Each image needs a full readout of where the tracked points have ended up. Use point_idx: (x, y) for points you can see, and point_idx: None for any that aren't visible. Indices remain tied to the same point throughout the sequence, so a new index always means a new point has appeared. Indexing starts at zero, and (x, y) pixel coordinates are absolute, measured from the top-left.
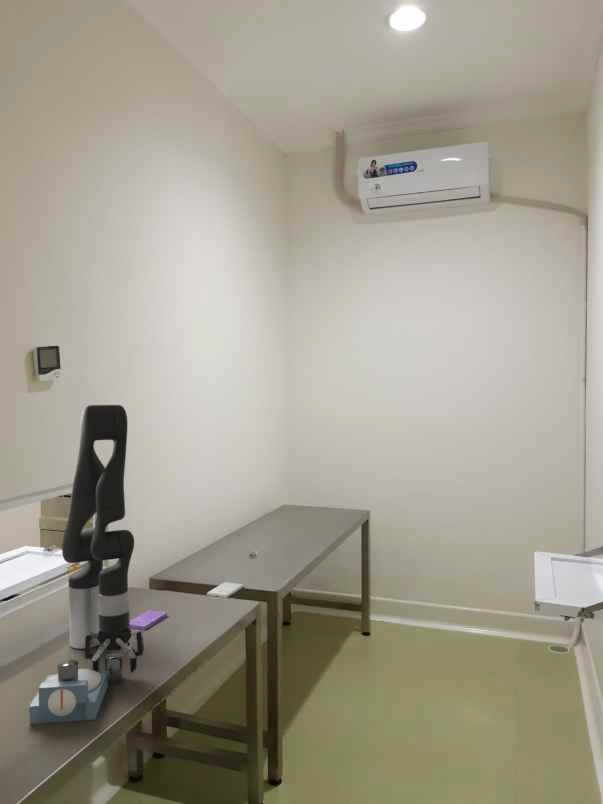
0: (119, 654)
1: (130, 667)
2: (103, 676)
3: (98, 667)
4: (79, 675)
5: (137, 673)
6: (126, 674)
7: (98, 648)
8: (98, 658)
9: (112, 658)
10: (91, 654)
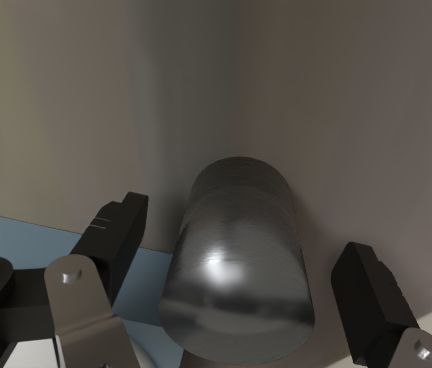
0: (286, 305)
1: (338, 306)
2: (170, 364)
3: (129, 263)
4: (35, 351)
5: (385, 176)
6: (318, 165)
7: (60, 362)
8: (104, 282)
9: (219, 341)
10: (24, 341)
